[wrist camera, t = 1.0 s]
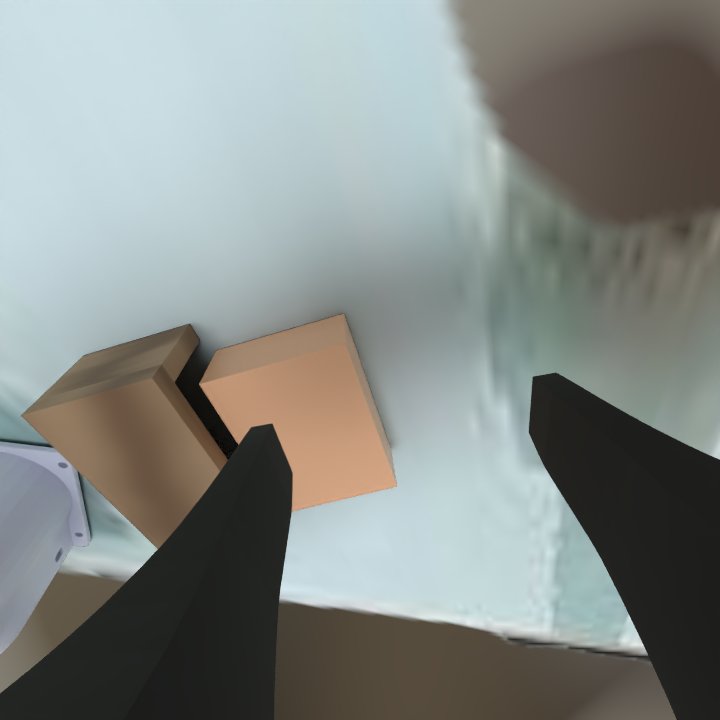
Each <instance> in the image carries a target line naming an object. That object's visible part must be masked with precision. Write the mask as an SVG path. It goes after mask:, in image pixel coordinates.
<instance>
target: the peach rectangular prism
mask: <svg viewBox="0 0 720 720" xmlns="http://www.w3.org/2000/svg"><path fill="white" fill-rule="evenodd" d="M199 385H200V386H201V388H202V390H203V391H204V393H205V394H206V396H207V397H208V399H209V400H210V402H211V403H212V405H213V406H214V408H215V410H216V411H217V413H218V414H219V416H220V417H221V419H222V420H223V422H224V423H225V425H226V426H227V428H228V430H229V431H230V433H231V434H232V436H233V437H234V439H235V440H236V442H237V443H238V445H239V444H240V442H241V441H242V439H243V438H244V436H245V435H246V434H247V432H248V431H249V429H250V428H251V427H254V426H260V425H265V424H271V423H272V424H273V426H274V429H275V431H276V433H277V436H278V438H279V441H280V443H281V445H282V448H283V450H284V453H285V455H286V457H287V460H288V462H289V465H290V467H291V470H292V472H293V494H292V511H296V510H300V509H304V508H308V507H312V506H317V505H321V504H325V503H329V502H334V501H338V500H342V499H346V498H350V497H355V496H359V495H363V494H367V493H372V492H376V491H380V490H384V489H389V488H393V487H397V483H396V477H395V471H394V465H393V459H392V453H391V448H390V445H389V442H388V439H387V436H386V433H385V430H384V428H383V425H382V422H381V419H380V416H379V413H378V410H377V407H376V405H375V402H374V399H373V396H372V393H371V390H370V387H369V384H368V382H367V379H366V376H365V373H364V370H363V367H362V364H361V361H360V358H359V356H358V353H357V350H356V347H355V344H354V341H353V338H352V335H351V333H350V330H349V327H348V324H347V321H346V318H345V315H344V314H340V315H337V316H333V317H330V318H327V319H323V320H320V321H316V322H313V323H309V324H306V325H302V326H299V327H296V328H292V329H289V330H285V331H282V332H278V333H275V334H271V335H268V336H264V337H261V338H258V339H254V340H251V341H247V342H244V343H240V344H237V345H233V346H230V347H226V348H223V349H220V350H216V352H215V354H214V356H213V358H212V360H211V362H210V364H209V366H208V368H207V370H206V372H205V374H204V376H203V378H202V380H201V381H200V383H199Z"/></svg>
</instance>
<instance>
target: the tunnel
mask: <svg viewBox="0 0 720 720" xmlns="http://www.w3.org/2000/svg"><path fill="white" fill-rule="evenodd" d="M199 341H200V340H199V338H198V337H197V335H196V333H195V332H194V330H193V328H192V327H191V325H190V324H188V325H184V326H181V327H178V328H174V329H171V330H168V331H164V332H161V333H158V334H154V335H151V336H148V337H144V338H141V339H138V340H134V341H131V342H128V343H124V344H121V345H118V346H114V347H111V348H108V349H104V350H101V351H98V352H94V353H91V354H88V355H84V356H83V357H82V358H81V359H80V360H79V361H78V362H77V363H75V364H74V365H73V366H72V367H71V368H70V369H69V370H68V371H67V372H66V373H65V374H64V375H63V376H62V377H61V378H60V379H59V380H58V381H57V382H56V383H55V384H54V385H52V386H51V387H50V388H49V389H48V390H47V391H46V392H45V393H44V394H43V395H42V396H41V397H40V398H39V399H38V400H37V401H36V402H35V403H34V404H33V405H32V406H30V407H29V408H28V409H27V410H26V411H25V412H24V413H23V414H22V415H21V416H22V417H23V418H24V419H25V420H26V421H27V422H28V423H29V424H30V425H31V426H32V427H33V428H34V429H35V430H36V431H37V432H38V433H39V434H40V435H41V436H42V437H43V438H44V439H45V440H46V441H47V442H49V443H50V444H51V445H52V446H53V447H54V448H55V449H56V450H57V451H58V452H59V453H60V454H61V455H62V456H63V457H64V458H65V459H66V460H67V461H68V462H69V463H70V464H71V465H72V466H73V467H74V468H75V469H76V470H77V471H78V472H79V473H80V474H81V475H82V476H83V477H84V478H86V479H87V480H88V481H89V482H90V483H91V484H92V485H93V486H94V487H95V488H96V489H97V490H98V491H99V492H100V493H101V494H102V495H103V496H104V497H105V498H106V499H107V500H108V501H109V502H110V503H111V504H112V505H113V506H114V507H115V508H116V509H117V510H118V511H119V512H120V513H121V514H123V515H124V516H125V517H126V518H127V519H128V520H129V521H130V522H131V523H132V524H133V525H134V526H135V527H136V528H137V529H138V530H139V531H140V532H141V533H142V534H143V535H144V536H145V537H146V538H147V539H148V540H149V541H150V542H151V543H152V544H153V545H154V546H155V547H156V548H157V549H159V548H160V546H161V545H162V544H163V543H164V542H165V541H166V540H167V539H168V537H169V536H170V535H171V534H172V533H173V532H174V531H175V529H176V528H177V527H178V526H179V525H180V523H181V522H182V521H183V520H184V518H185V517H186V516H187V515H188V513H189V512H190V511H191V509H192V508H193V507H194V506H195V504H196V503H197V502H198V501H199V499H200V498H201V497H202V495H203V494H204V493H205V492H206V490H207V489H208V487H209V486H210V485H211V483H212V482H213V481H214V479H215V478H216V476H217V475H218V474H219V472H220V471H221V469H222V468H223V467H224V465H225V464H226V462H227V461H228V459H227V458H226V456H225V455H224V454H223V452H222V451H221V449H220V448H219V446H218V445H217V443H216V442H215V441H214V439H213V438H212V436H211V435H210V433H209V432H208V430H207V429H206V428H205V426H204V425H203V423H202V422H201V420H200V419H199V417H198V416H197V415H196V413H195V412H194V410H193V409H192V407H191V406H190V404H189V403H188V402H187V400H186V399H185V397H184V396H183V394H182V393H181V391H180V390H179V389H178V387H177V386H176V384H175V381H176V379H177V378H178V376H179V374H180V373H181V371H182V369H183V368H184V366H185V364H186V363H187V361H188V359H189V358H190V356H191V354H192V353H193V351H194V349H195V348H196V346H197V344H198V343H199Z"/></svg>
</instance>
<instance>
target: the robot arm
mask: <svg viewBox="0 0 720 720" xmlns="http://www.w3.org/2000/svg"><path fill="white" fill-rule="evenodd" d="M529 434H530V436H531V439H532V441H533V443H534V445H535V448H536V450H537V452H538V454H539V456H540V458H541V460H542V462H543V465H544V466H545V468H546V470H547V471H548V473H549V475H550V476H551V478H552V479H553V481H554V483H555V484H556V486H557V488H558V489H559V491H560V492H561V494H562V496H563V497H564V499H565V500H566V502H567V504H568V505H569V507H570V508H571V510H572V511H573V513H574V515H575V516H576V518H577V519H578V521H579V523H580V524H581V526H582V527H583V529H584V531H585V532H586V534H587V535H588V537H589V539H590V540H591V542H592V544H593V545H594V547H595V549H596V550H597V552H598V554H599V556H600V557H601V559H602V561H603V563H604V565H605V567H606V569H607V571H608V573H609V575H610V577H611V579H612V581H613V583H614V585H615V587H616V589H617V591H618V593H619V595H620V597H621V599H622V601H623V603H624V605H625V607H626V609H627V611H628V613H629V615H630V617H631V620H632V622H633V624H634V626H635V628H636V630H637V632H638V634H639V636H640V638H641V640H642V643H643V645H644V647H645V649H646V651H647V653H648V656H649V658H650V660H651V662H652V665H653V667H654V669H655V671H656V673H657V676H658V678H659V680H660V682H661V684H662V687H663V689H664V691H665V693H666V695H667V698H668V700H669V702H670V705H671V707H672V709H673V712H674V714H675V716H676V719H677V720H720V460H719V459H717V458H714V457H712V456H710V455H708V454H705V453H703V452H701V451H699V450H697V449H695V448H692V447H690V446H688V445H686V444H684V443H682V442H680V441H678V440H676V439H674V438H672V437H670V436H668V435H666V434H664V433H662V432H660V431H658V430H656V429H654V428H652V427H651V426H649V425H647V424H645V423H643V422H641V421H639V420H638V419H636V418H634V417H632V416H630V415H628V414H627V413H625V412H623V411H621V410H620V409H618V408H616V407H614V406H613V405H611V404H609V403H607V402H606V401H604V400H602V399H600V398H599V397H597V396H595V395H594V394H592V393H590V392H589V391H587V390H585V389H584V388H582V387H580V386H578V385H577V384H575V383H573V382H572V381H570V380H568V379H566V378H565V377H563V376H561V375H559V374H557V373H551V374H546V375H540V376H534V377H533V382H532V395H531V408H530V422H529ZM292 494H293V472H292V470H291V467H290V465H289V462H288V460H287V457H286V455H285V453H284V450H283V448H282V445H281V443H280V441H279V438H278V436H277V433H276V431H275V429H274V426H273V424H272V423H271V424H265V425H260V426H254V427H251V428H250V429H249V431H248V432H247V434H246V435H245V436H244V438H243V439H242V441H241V442H240V444H239V445H238V446H237V448H236V449H235V451H234V452H233V454H232V455H231V457H230V458H229V459H228V461H227V462H226V464H225V465H224V467H223V468H222V469H221V471H220V472H219V474H218V475H217V476H216V478H215V479H214V481H213V482H212V483H211V485H210V486H209V487H208V489H207V490H206V492H205V493H204V494H203V495H202V497H201V498H200V499H199V501H198V502H197V503H196V504H195V506H194V507H193V508H192V509H191V511H190V512H189V513H188V515H187V516H186V517H185V518H184V520H183V521H182V522H181V523H180V525H179V526H178V527H177V528H176V529H175V531H174V532H173V533H172V534H171V535H170V536H169V537H168V539H167V540H166V541H165V542H164V543H163V544H162V545H161V546H160V548H159V549H158V550H157V551H156V552H155V553H154V554H153V555H152V556H151V557H150V558H149V560H148V561H147V562H146V563H145V564H144V565H143V566H142V567H141V568H140V569H139V570H138V571H137V572H136V573H135V574H134V575H133V576H132V577H131V578H130V579H129V580H128V581H127V582H126V583H125V584H124V585H123V586H122V587H121V588H120V589H119V590H118V591H117V592H116V593H115V594H114V595H113V596H112V597H111V598H110V599H109V600H108V601H107V602H106V603H105V604H104V605H103V606H102V607H101V608H100V609H98V610H97V611H96V612H95V613H94V614H93V615H92V616H91V617H90V618H89V619H88V620H87V621H85V622H84V623H83V624H82V625H81V626H80V627H79V628H78V629H77V630H75V631H74V632H73V633H72V634H71V635H70V636H69V637H67V638H66V639H65V640H64V641H63V642H62V643H61V644H59V645H58V646H57V647H56V648H55V649H54V650H53V651H51V652H50V653H49V654H48V655H47V656H46V657H44V658H43V659H42V660H41V661H40V662H38V663H37V664H36V665H35V666H34V667H32V668H31V669H30V670H29V671H28V672H26V673H25V674H24V675H23V676H21V677H20V678H19V679H18V680H17V681H15V682H14V683H13V684H11V685H10V686H9V687H8V688H6V689H5V690H4V691H3V692H1V693H0V720H274V690H275V689H274V687H275V662H276V659H275V657H276V639H277V620H278V605H279V596H280V587H281V580H282V574H283V567H284V560H285V553H286V547H287V540H288V533H289V526H290V519H291V511H292ZM90 541H91V536H90V531H89V527H88V522H87V517H86V512H85V507H84V502H83V497H82V492H81V487H80V482H79V477H78V472H77V470H76V469H75V468H74V467H73V466H72V465H71V464H70V463H69V462H68V461H67V460H66V459H65V458H64V457H63V456H62V455H61V454H60V453H59V452H58V451H57V450H56V449H55V448H50V447H42V446H34V445H25V444H17V443H8V442H0V654H1V653H2V652H3V651H4V650H5V649H6V648H7V647H8V646H9V645H10V644H11V643H12V642H13V641H14V639H15V638H16V637H17V636H18V634H19V633H20V631H21V630H22V628H23V627H24V625H25V623H26V621H27V620H28V618H29V617H30V615H31V613H32V612H33V610H34V608H35V607H36V605H37V604H38V602H39V600H40V599H41V597H42V595H43V594H44V592H45V590H46V589H47V587H48V585H49V584H50V582H51V580H52V579H53V577H54V576H55V574H56V572H57V571H58V569H59V567H60V566H61V564H62V562H63V561H64V559H65V558H66V556H67V554H68V553H69V551H70V549H71V548H72V546H78V547H85V546H87V545H89V543H90Z"/></svg>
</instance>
